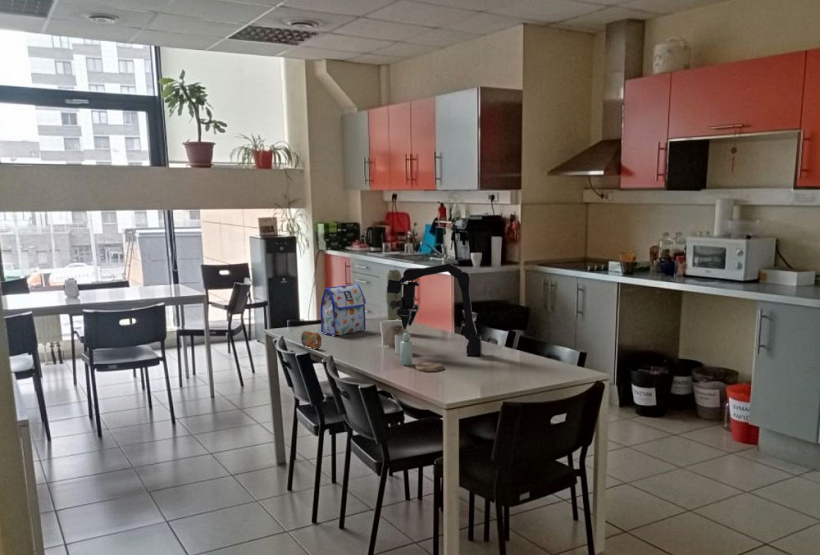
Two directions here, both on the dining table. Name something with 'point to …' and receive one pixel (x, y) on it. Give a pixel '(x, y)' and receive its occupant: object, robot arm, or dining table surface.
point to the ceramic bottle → (406, 350)
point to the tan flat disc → (429, 366)
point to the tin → (311, 339)
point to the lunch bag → (343, 310)
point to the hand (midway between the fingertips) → (407, 327)
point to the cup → (398, 342)
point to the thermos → (393, 296)
